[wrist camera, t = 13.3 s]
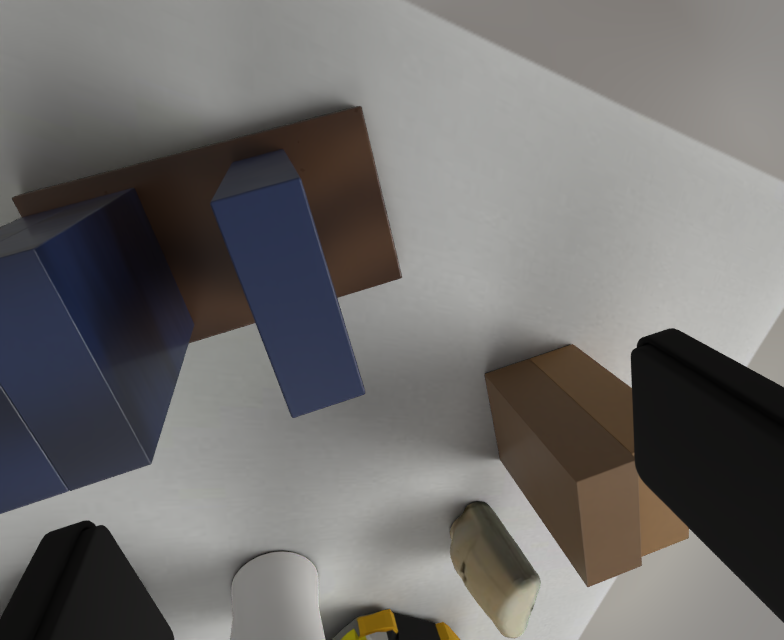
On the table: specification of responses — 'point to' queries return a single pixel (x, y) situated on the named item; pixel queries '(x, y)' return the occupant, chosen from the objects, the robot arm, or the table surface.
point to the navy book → (287, 281)
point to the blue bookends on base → (149, 294)
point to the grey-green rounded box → (494, 568)
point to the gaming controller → (394, 628)
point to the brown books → (579, 461)
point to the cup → (276, 599)
